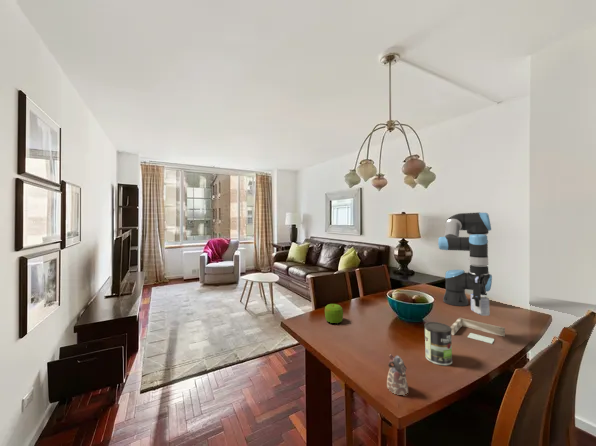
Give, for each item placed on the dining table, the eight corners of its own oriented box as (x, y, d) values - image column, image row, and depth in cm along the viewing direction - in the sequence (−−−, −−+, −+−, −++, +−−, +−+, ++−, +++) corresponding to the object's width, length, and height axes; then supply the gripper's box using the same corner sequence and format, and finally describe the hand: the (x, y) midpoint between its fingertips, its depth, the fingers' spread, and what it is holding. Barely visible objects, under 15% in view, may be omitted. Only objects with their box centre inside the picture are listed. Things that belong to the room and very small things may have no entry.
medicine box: (490, 315, 120) (489, 298, 120) (480, 315, 120) (479, 298, 120) (479, 310, 128) (479, 293, 128) (470, 310, 128) (470, 293, 128)
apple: (347, 322, 148) (346, 304, 148) (333, 327, 142) (333, 308, 142) (334, 316, 158) (333, 299, 158) (321, 321, 152) (320, 303, 152)
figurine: (404, 399, 84) (403, 364, 84) (383, 390, 88) (382, 356, 88) (411, 388, 89) (410, 355, 89) (391, 380, 94) (390, 348, 94)
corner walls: (459, 324, 141) (459, 317, 141) (504, 335, 126) (504, 327, 126) (450, 334, 129) (450, 326, 129) (499, 347, 115) (499, 339, 115)
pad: (470, 333, 130) (470, 332, 130) (494, 339, 122) (494, 338, 122) (467, 337, 126) (467, 336, 126) (492, 343, 118) (492, 343, 118)
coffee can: (458, 361, 105) (457, 328, 104) (441, 368, 100) (440, 333, 100) (435, 350, 114) (435, 320, 114) (419, 355, 110) (419, 324, 110)
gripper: (474, 261, 134) (475, 303, 134) (464, 267, 119) (465, 314, 119) (492, 263, 129) (493, 306, 129) (483, 269, 114) (484, 318, 114)
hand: (480, 310), depth 124 cm, fingers closed on medicine box, 9 cm apart
